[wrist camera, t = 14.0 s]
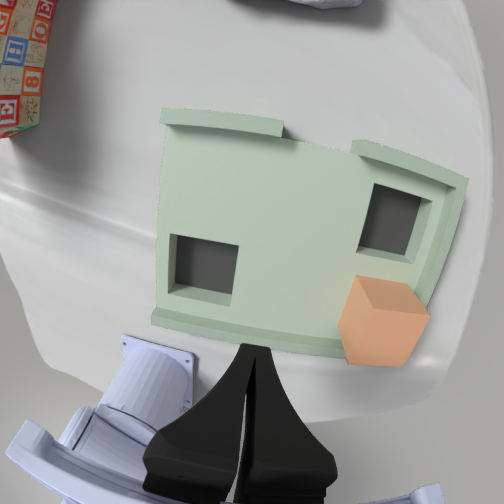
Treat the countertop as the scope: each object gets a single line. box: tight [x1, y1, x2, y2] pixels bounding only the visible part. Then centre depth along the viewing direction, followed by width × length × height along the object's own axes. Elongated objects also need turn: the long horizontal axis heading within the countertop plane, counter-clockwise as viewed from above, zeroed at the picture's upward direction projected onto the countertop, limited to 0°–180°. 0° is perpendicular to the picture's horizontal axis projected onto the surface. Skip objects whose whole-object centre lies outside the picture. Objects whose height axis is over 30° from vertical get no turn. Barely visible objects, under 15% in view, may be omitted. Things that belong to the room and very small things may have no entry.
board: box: [151, 108, 469, 359], centre depth 19 cm, size 16×21×3 cm
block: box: [338, 275, 431, 367], centre depth 18 cm, size 4×4×4 cm
